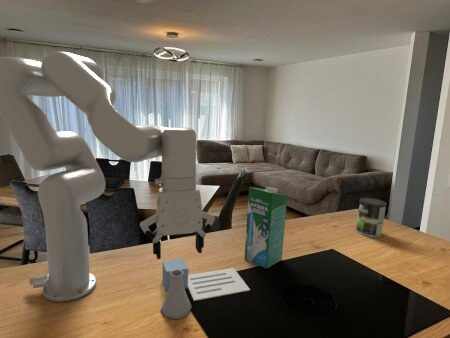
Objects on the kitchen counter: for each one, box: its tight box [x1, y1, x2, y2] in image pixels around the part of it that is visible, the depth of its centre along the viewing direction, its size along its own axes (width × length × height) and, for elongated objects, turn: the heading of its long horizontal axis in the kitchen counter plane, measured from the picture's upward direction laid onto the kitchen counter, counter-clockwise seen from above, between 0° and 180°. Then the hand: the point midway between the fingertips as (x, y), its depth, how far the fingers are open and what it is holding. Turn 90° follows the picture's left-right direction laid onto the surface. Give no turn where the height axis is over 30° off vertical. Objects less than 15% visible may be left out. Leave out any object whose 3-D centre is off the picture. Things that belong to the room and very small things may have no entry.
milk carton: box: [244, 186, 288, 270], centre depth 98 cm, size 9×9×25 cm
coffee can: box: [355, 197, 387, 238], centre depth 127 cm, size 10×10×14 cm
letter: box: [187, 267, 251, 302], centre depth 85 cm, size 16×12×1 cm
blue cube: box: [162, 258, 189, 293], centre depth 83 cm, size 6×6×6 cm
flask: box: [159, 269, 193, 320], centre depth 72 cm, size 7×7×10 cm
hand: (178, 253), depth 70 cm, fingers open, 9 cm apart
